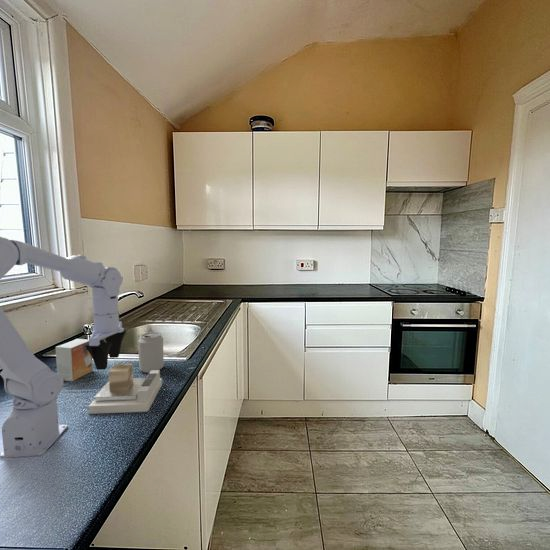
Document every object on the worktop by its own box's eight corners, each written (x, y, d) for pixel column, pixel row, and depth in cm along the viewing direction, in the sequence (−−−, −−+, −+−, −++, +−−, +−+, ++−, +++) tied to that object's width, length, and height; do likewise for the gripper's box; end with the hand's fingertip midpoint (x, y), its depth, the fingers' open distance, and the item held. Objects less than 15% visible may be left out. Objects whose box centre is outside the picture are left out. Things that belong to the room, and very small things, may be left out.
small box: (72, 382, 91) (70, 348, 89) (56, 380, 92) (54, 346, 90) (93, 370, 98) (91, 339, 97) (78, 369, 99) (77, 338, 98)
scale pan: (135, 399, 78) (135, 395, 78) (94, 400, 77) (94, 397, 77) (147, 381, 88) (147, 377, 88) (111, 382, 86) (110, 378, 86)
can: (136, 368, 101) (135, 333, 99) (159, 362, 106) (158, 329, 104) (143, 376, 95) (142, 339, 94) (167, 370, 100) (166, 335, 99)
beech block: (127, 390, 80) (127, 370, 79) (109, 391, 79) (108, 371, 79) (133, 382, 84) (132, 363, 84) (116, 383, 84) (115, 364, 83)
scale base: (147, 411, 76) (147, 391, 76) (88, 413, 75) (87, 393, 74) (162, 384, 90) (161, 367, 90) (112, 386, 89) (111, 368, 88)
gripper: (110, 320, 72) (112, 374, 74) (132, 306, 86) (133, 352, 88) (78, 320, 71) (81, 375, 73) (106, 306, 85) (108, 352, 87)
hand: (108, 362), depth 80 cm, fingers open, 7 cm apart
